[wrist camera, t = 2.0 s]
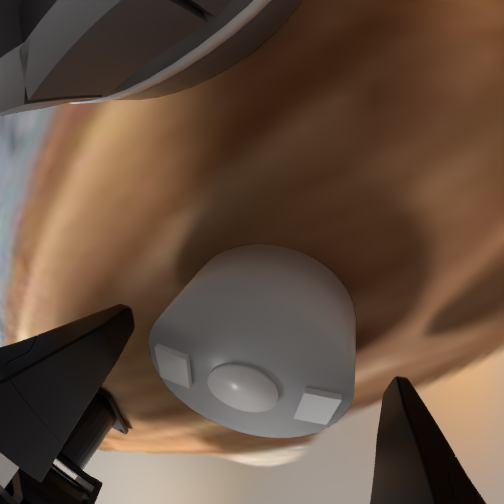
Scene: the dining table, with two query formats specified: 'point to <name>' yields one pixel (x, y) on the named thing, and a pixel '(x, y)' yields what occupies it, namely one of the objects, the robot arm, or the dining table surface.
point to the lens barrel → (124, 47)
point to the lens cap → (260, 343)
